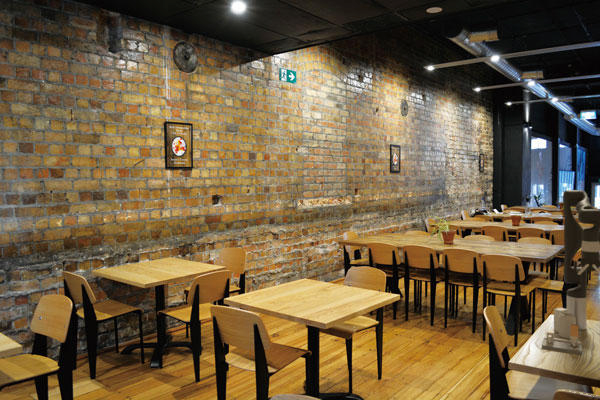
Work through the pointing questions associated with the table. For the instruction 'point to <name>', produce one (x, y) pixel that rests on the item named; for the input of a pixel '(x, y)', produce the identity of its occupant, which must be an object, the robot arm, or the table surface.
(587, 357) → the table surface
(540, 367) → the table surface
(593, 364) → the table surface
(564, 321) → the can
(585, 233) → the robot arm
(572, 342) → the divider leg
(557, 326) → the skincare box
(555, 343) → the gauge board
